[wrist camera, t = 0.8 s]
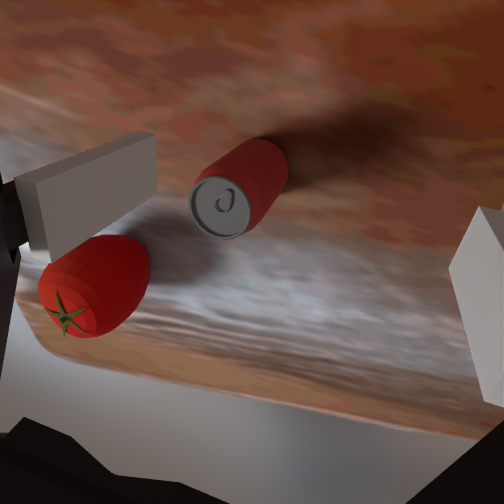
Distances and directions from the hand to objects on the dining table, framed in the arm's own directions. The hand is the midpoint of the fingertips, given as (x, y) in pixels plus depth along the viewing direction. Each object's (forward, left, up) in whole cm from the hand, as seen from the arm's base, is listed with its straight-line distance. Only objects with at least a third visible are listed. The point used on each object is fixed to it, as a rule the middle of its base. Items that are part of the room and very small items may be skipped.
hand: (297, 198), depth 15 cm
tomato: (+23, -25, -24) cm, 42 cm away
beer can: (+7, -8, -24) cm, 26 cm away
